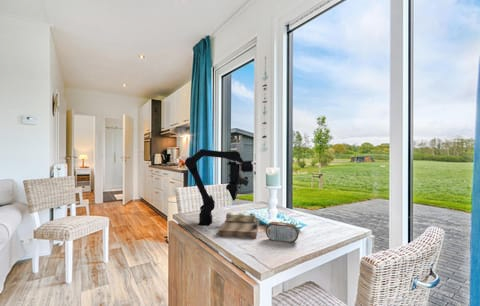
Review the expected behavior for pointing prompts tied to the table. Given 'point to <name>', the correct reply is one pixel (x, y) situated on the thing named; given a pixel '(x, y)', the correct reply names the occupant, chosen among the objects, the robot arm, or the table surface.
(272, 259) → the table surface
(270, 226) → the retro speaker
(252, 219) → the stool leg
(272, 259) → the table surface
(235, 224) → the stool seat
